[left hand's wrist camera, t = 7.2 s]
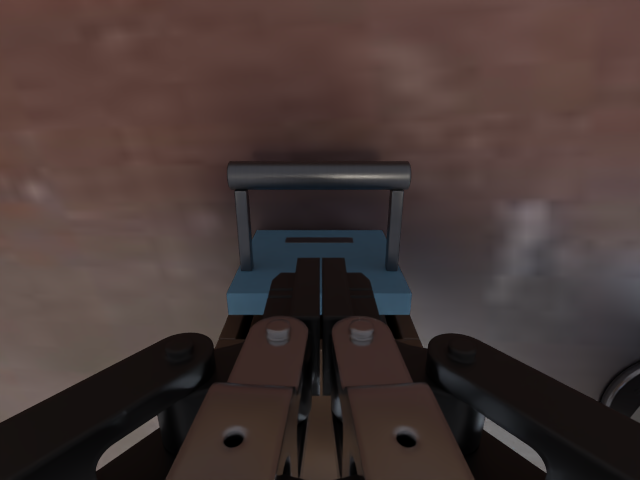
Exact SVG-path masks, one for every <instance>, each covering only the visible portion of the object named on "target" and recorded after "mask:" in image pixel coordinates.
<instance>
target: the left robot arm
mask: <svg viewBox="0 0 640 480" xmlns="http://www.w3.org/2000/svg"><path fill="white" fill-rule="evenodd" d="M322 390H323V396H331V429H332V437H333V445H334V453H335V461H336V469H337V477H338V479H336V480H640V362H639V363H637V364H635V365H633V366H631V367H629V368H628V369H626V370H625V371H624V372H622V373H621V374H620V375H619V376H617V377H616V378H615V379H614V380H613V381H612V383H611V384H610V385H609V386H608V388H607V389H606V391H605V393H604V395H603V397H602V400H601V403H600V402H598V401H596V400H594V399H592V398H590V397H588V396H586V395H584V394H582V393H580V392H579V391H577V390H575V389H573V388H571V387H569V386H567V385H565V384H563V383H561V382H559V381H557V380H555V379H553V378H551V377H549V376H547V375H545V374H543V373H542V372H540V371H538V370H536V369H534V368H532V367H530V366H528V365H526V364H524V363H522V362H520V361H518V360H516V359H514V358H512V357H510V356H508V355H506V354H505V353H503V352H501V351H499V350H497V349H495V348H493V347H491V346H489V345H487V344H485V343H483V342H481V341H479V340H477V339H475V338H472V337H469V336H466V335H462V334H453V333H450V334H441V335H438V336H436V337H434V338H433V339H431V341H430V342H429V344H428V349H427V348H422V347H417V346H412V345H408V344H405V343H402V342H400V341H398V340H396V339H394V337H393V335H392V332H391V330H390V328H389V327H388V326H387V325H386V324H385V323H383V322H382V321H381V319H380V315H379V312H378V308H377V304H376V301H375V298H374V293H373V290H372V286H371V282H370V280H369V279H368V278H367V277H366V276H365V275H364V274H362V273H361V272H347V271H346V264H345V258H322ZM312 396H320V258H297V264H296V272H295V273H289V272H287V273H286V272H281V273H280V274H278V275H277V276H276V277H275V278H274V279H273V280H272V283H271V286H270V291H269V294H268V298H267V302H266V306H265V309H264V313H263V317H262V320H260V321H258V322H257V323H255V324H254V325H253V326H252V327H251V328H250V330H249V332H248V335H247V337H246V339H245V341H243V342H241V343H238V344H235V345H231V346H227V347H222V348H217V349H214V346H213V342H212V340H211V339H210V338H209V337H207V336H205V335H203V334H199V333H181V334H176V335H173V336H170V337H167V338H165V339H163V340H161V341H159V342H157V343H155V344H153V345H151V346H149V347H147V348H145V349H143V350H141V351H139V352H137V353H135V354H134V355H132V356H130V357H128V358H126V359H124V360H122V361H120V362H118V363H116V364H114V365H112V366H110V367H108V368H106V369H104V370H102V371H100V372H98V373H97V374H95V375H93V376H91V377H89V378H87V379H85V380H83V381H81V382H79V383H77V384H75V385H73V386H71V387H69V388H67V389H65V390H63V391H61V392H60V393H58V394H56V395H54V396H52V397H50V398H48V399H46V400H44V401H42V402H40V403H38V404H36V405H34V406H32V407H30V408H28V409H26V410H24V411H23V412H21V413H19V414H17V415H15V416H13V417H11V418H9V419H7V420H5V421H3V422H1V423H0V480H304V479H302V477H303V469H304V461H305V453H306V445H307V437H308V429H309V413H310V411H311V407H312ZM156 415H157V416H158V421H159V426H160V428H158V429H157V430H155V431H154V432H152V433H151V434H150V435H148V436H147V437H145V438H144V439H142V440H141V441H140V442H138V443H137V444H135V445H134V446H132V447H131V448H129V449H128V450H127V451H125V452H124V453H122V454H121V455H119V456H118V457H116V458H115V459H114V460H112V461H111V462H109V463H108V464H106V465H105V466H104V467H102V468H101V469H99V470H98V471H96V466H97V463H98V461H99V459H100V457H101V456H102V454H103V453H104V452H105V451H106V450H107V449H108V448H109V447H110V446H111V445H113V444H114V443H116V442H117V441H119V440H120V439H122V438H123V437H125V436H126V435H128V434H129V433H131V432H132V431H134V430H135V429H137V428H138V427H140V426H141V425H143V424H144V423H146V422H147V421H149V420H150V419H152V418H153V417H155V416H156ZM485 417H487V418H488V419H490V420H491V421H493V422H494V423H496V424H497V425H499V426H500V427H502V428H503V429H505V430H506V431H508V432H509V433H511V434H512V435H514V436H515V437H517V438H518V439H520V440H521V441H523V442H524V443H526V444H527V445H529V446H530V447H531V448H533V449H534V450H535V451H536V452H537V453H538V454H539V456H540V457H541V458H542V460H543V462H544V464H545V466H546V470H547V473H545V472H544V471H542V470H541V469H539V468H538V467H536V466H535V465H534V464H532V463H531V462H529V461H528V460H526V459H525V458H524V457H522V456H521V455H519V454H518V453H516V452H515V451H513V450H512V449H511V448H509V447H508V446H506V445H505V444H503V443H502V442H501V441H499V440H498V439H496V438H495V437H493V436H492V435H490V434H489V433H488V432H486V431H485V430H483V426H484V421H485Z"/></svg>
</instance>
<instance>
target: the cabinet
mask: <svg viewBox="0 0 640 480" xmlns="http://www.w3.org/2000/svg"><path fill="white" fill-rule="evenodd" d="M253 316H254V315H228V318H227V320H226V323H225V325H224V327H223V330H222V332H221V335H220V337H219V340H218V342H217V345H216V347H215V349H217V348H222V347H227V346H231V345H235V344H238V343H241V342H243V341H245V339H246V337H247V335H248V332H249V330H250V326H251V323H252V320H253ZM385 318H386V322H387V325H388V327H389V328H390V330H391V332H392V335H393V337H394V339H396V340H398V341H400V342H402V343H405V344H408V345H412V346H417V347H422V348H423V346H422V344H421V341H420V340H419V337H418V334H417V332H416V329H415V327H414V324H413V322H412V320H411V317H410V315H385ZM302 479H304V480H336V479H338V477H337V469H336V461H335V453H334V445H333V437H332V429H331V396H323V390H322V339H320V396H312V407H311V411H310V413H309V429H308V437H307V445H306V453H305V461H304V469H303V477H302Z"/></svg>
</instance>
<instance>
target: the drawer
mask: <svg viewBox="0 0 640 480" xmlns="http://www.w3.org/2000/svg"><path fill="white" fill-rule="evenodd" d="M227 180H228V185H229V188H230V189H232V190H235V191H234V192H235V205H236V217H237V229H238V241H239V253H240V266H239V268H238V271H237V273H236V275H235V277H234V279H233V281H232V283H231V285H230V287H229V290H228V292H227V304H228V314H229V315H254V316H253V320H252V323H251V326H250V328H251V327H252V326H253V325H254V324H255V323H257V322H258V321H260V320H262V317H263V313H264V309H265V306H266V302H267V298H268V294H269V291H270V286H271V283H272V280H273V279H274V278H275V277H276V276H277V275H278V274H280V273H281V272H286V273H287V272H289V273H295V272H296V264H297V258H320V339H322V258H345V264H346V271H347V272H361V273H362V274H364V275H365V276H366V277H367V278H368V279H369V280H370V282H371V286H372V290H373V293H374V298H375V301H376V304H377V308H378V312H379V315H380V319H381V321H382V322H383V323H385V324H386V325H387V322H386V318H385V315H410V307H411V296H412V293H411V291H410V289H409V287H408V285H407V282H406V280H405V278H404V276H403V274H402V272H401V270H400V267H399V265H398V258H399V246H400V234H401V221H402V209H403V196H404V191H403V190H407V189H408V188H409V186H410V181H411V166H410V163H409V162H408V161H230V162H229V163H228V167H227ZM248 190H390V197H389V212H388V227H387V240H386V238H385V235H384V233H383V231H382V230H257V231H256V233H255V235H254V237H253V239H252V236H251V222H250V207H249V193H248ZM387 326H388V325H387Z"/></svg>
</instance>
